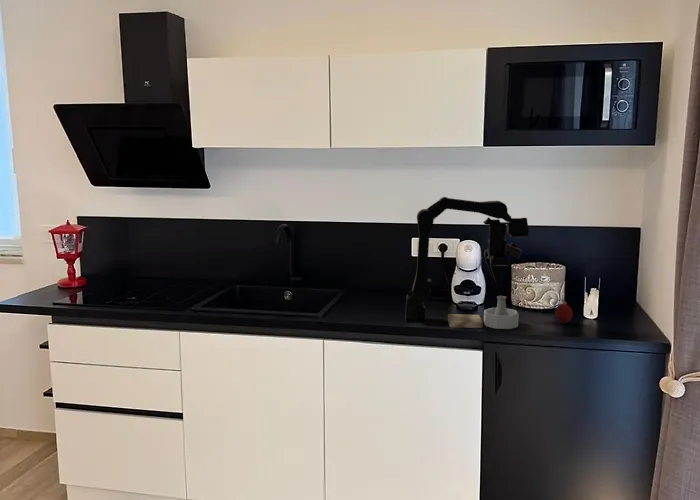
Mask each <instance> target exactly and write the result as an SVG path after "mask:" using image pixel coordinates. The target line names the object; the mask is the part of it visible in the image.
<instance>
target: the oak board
mask: <svg viewBox="0 0 700 500" xmlns="http://www.w3.org/2000/svg"><path fill="white" fill-rule="evenodd" d="M447 321H448V325H449V327H450V328H459V329H460V328H463V329H465V328H467V329H470V328H472V329H483V323H484V321H483V320H482V318H481V317H480V314H457V313H456V314H454V313H451V314H447Z"/></svg>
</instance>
